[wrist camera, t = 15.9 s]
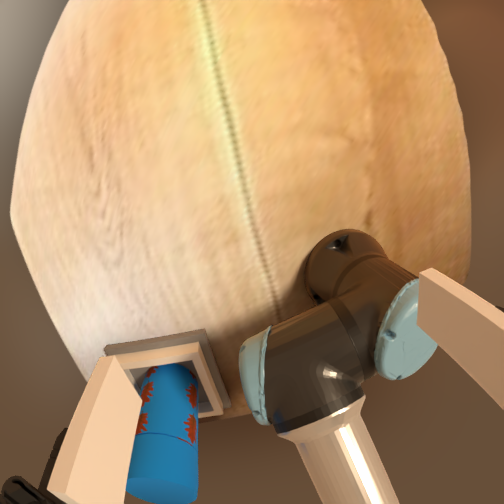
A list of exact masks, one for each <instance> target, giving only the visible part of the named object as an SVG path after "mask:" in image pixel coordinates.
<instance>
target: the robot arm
mask: <svg viewBox="0 0 504 504" xmlns="http://www.w3.org/2000/svg"><path fill="white" fill-rule="evenodd" d="M304 278H305V285H306V289H307V291H308V293H309V295H310V296H311V298H312V299H313V301H314V302H315V303H316V304H317V306H315V307H313V308H311V309H309V310H307V311H305V312H303V313H301V314H299V315H296V316H294V317H292V318H290V319H288V320H286V321H283V322H281V323H279V324H277V325H275V326H273V325H271V326H269V327H267V329H266V330H264V331H262V332H260V333H258V334H256V335H254V336H252V337H250V338H248V339H247V340H245V341H244V343H243V344H242V346H241V348H240V351H239V372H240V378H241V383H242V388H243V391H244V395H245V398H246V401H247V404H248V406H249V408H250V410H252V413H253V416H254V418H255V419H256V421H257V422H258V423H260V424H261V425H271V424H273V426H274V428H275V430H276V432H277V435H278V436H279V437H282V438H285V439H288V440H290V441H292V442H294V443H295V444H296V446H297V449H298V451H299V453H300V455H301V457H302V460H303V462H304V464H305V466H306V469H307V471H308V473H309V475H310V477H311V479H312V482H313V484H314V486H315V488H316V490H317V492H318V494H319V496H320V499H321V501H322V503H323V504H399V502H398V499H397V497H396V494H395V492H394V490H393V488H392V485H391V483H390V480H389V478H388V476H387V473H386V471H385V469H384V467H383V464H382V462H381V460H380V457H379V455H378V453H377V451H376V449H375V446H374V444H373V442H372V439H371V437H370V435H369V433H368V431H367V429H366V426H365V424H364V422H363V420H362V418H361V415H360V411H361V407H362V405H363V402H364V400H365V394H364V392H363V390H362V388H361V386H360V383H362V382H363V381H365V380H367V379H369V378H371V377H372V376H374V375H376V374H378V373H379V374H380V375H381V376H383V377H385V378H387V379H389V380H395V379H398V380H400V379H403V378H406V377H408V376H410V375H411V374H413V373H414V372H416V371H417V370H418V369H420V368H421V367H422V366H423V364H425V363H426V362H427V360H428V359H429V358H430V357H431V355H432V354H433V353H434V351H435V349H436V348H437V345H439V346H440V347H441V348H442V349H443V350H444V351H445V352H447V353H448V354H449V355H450V356H451V357H452V358H453V359H454V360H455V361H456V362H457V363H458V364H459V365H460V366H461V367H462V368H463V369H464V370H465V371H466V372H467V373H468V374H469V375H470V376H471V377H472V378H473V379H474V380H475V381H476V382H477V383H478V384H479V385H480V386H481V387H482V388H483V389H484V390H485V391H486V392H487V393H488V394H489V395H490V396H491V397H492V398H493V399H494V400H495V401H496V402H497V403H498V405H499V406H500V407H501V408H502V409H503V410H504V308H501V307H498V306H495V307H494V306H493V305H491V304H490V303H488V302H487V301H485V300H484V299H482V298H481V297H479V296H478V295H476V294H474V293H473V292H471V291H469V290H468V289H466V288H465V287H463V286H462V285H460V284H458V283H457V282H455V281H453V280H452V279H450V278H448V277H447V276H445V275H443V274H442V273H440V272H438V271H437V270H435V269H433V268H430V269H427V270H425V271H422V272H420V273H419V278H418V277H417V276H415V275H413V274H412V273H410V272H409V271H407V270H405V269H404V268H402V267H400V266H399V265H397V264H396V263H394V262H392V261H391V260H389V259H388V257H387V256H386V254H385V252H384V250H383V249H382V247H381V245H380V244H379V243H378V242H377V241H376V240H375V239H374V238H373V237H371V236H370V235H368V234H366V233H364V232H362V231H359V230H355V229H344V230H339V231H336V232H334V233H332V234H330V235H328V236H327V237H325V238H324V239H322V240H321V241H320V242H319V243H318V244H317V245H316V247H315V248H314V249H313V251H312V252H311V254H310V256H309V258H308V261H307V263H306V267H305V276H304ZM141 405H142V399H141V398H140V396H139V395H138V393H137V392H136V390H135V388H134V387H133V385H132V384H131V382H130V380H129V379H128V377H127V376H126V374H125V372H124V371H123V369H122V367H121V365H120V364H119V362H118V360H117V358H116V357H115V355H112V356H106V357H100V358H99V360H98V362H97V364H96V367H95V369H94V371H93V373H92V375H91V377H90V379H89V381H88V384H87V386H86V388H85V390H84V392H83V395H82V397H81V399H80V402H79V404H78V406H77V409H76V411H75V413H74V416H73V418H72V420H71V423H70V426H69V428H64V430H63V431H62V432H61V433H60V435H59V436H58V437H57V439H56V441H55V444H54V446H53V450H52V452H51V454H50V459H49V460H48V462H47V465H46V468H45V470H44V474H43V476H42V479H41V482H40V485H39V488H38V490H37V489H36V488H35V487H33V486H32V485H31V484H29V483H28V482H27V481H26V480H25V479H23V478H22V477H21V476H13V477H10V478H9V479H8V480H6V482H5V483H4V485H3V487H2V491H1V492H2V494H0V504H123V503H124V496H125V489H126V483H127V476H128V470H129V465H130V459H131V453H132V448H133V443H134V438H135V433H136V428H137V423H138V419H139V414H140V409H141Z"/></svg>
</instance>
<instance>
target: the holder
mask: <svg viewBox="0 0 504 504" xmlns="http://www.w3.org/2000/svg"><path fill="white" fill-rule="evenodd" d="M105 351H106V353H107V355H108V356H112V355H115V357H116V358H117V360H118V362H119V364H120V365H121V367H122V369H123V371H124V372H125V374H126V376H127V377H128V379H129V380H130V382H131V384H132V385H133V387H134V388H135V390H136V392H137V393H138V395H139V394H140V390H141V387H142V384H143V381H144V378H145V375H146V373H147V371H148V370H149V368H151V367H152V366H157V365H164V364H171V363H176V364H179V365H182V366H184V367H186V368H187V369H189V370H190V371H191V372H192V373H193V374H194V375H195V376H196V379H197V382H198V395H199V401H198V418H202V417H209V416H216V415H222V414H223V409H224V408H229V407H231V401H230V398H229V396H228V393H227V391H226V388H225V385H224V382H223V380H222V377H221V374H220V372H219V369H218V366H217V363H216V360H215V357H214V355H213V352H212V349H211V346H210V343H209V340H208V337H207V334H206V331H205V329H200V330H195V331H190V332H185V333H179V334H174V335H168V336H162V337H157V338H151V339H145V340H138V341H132V342H125V343H118V344H111V345H107V346H106V348H105Z"/></svg>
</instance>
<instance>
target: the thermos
mask: <svg viewBox="0 0 504 504" xmlns="http://www.w3.org/2000/svg"><path fill="white" fill-rule="evenodd" d="M139 396H140V398H141V399H142V405H141V409H140V414H139V419H138V423H137V428H136V433H135V438H134V443H133V448H132V453H131V459H130V465H129V470H128V476H127V483H126V489H125V490H126V491H127V492H128V493H130V494H132V495H133V496H135V497H137V498H140V499H142V500H145V501H148V502H152V503H156V504H188V503H191V502H193V501H194V500H196V497H197V492H198V401H199V395H198V382H197V379H196V376H195V375H194V374H193V373H192V372H191V371H190V370H189V369H187V368H186V367H184V366H182V365H179V364H176V363H171V364H164V365H157V366H152V367H151V368H149V370H148V371H147V373H146V375H145V378H144V381H143V384H142V387H141V390H140V394H139Z"/></svg>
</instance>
